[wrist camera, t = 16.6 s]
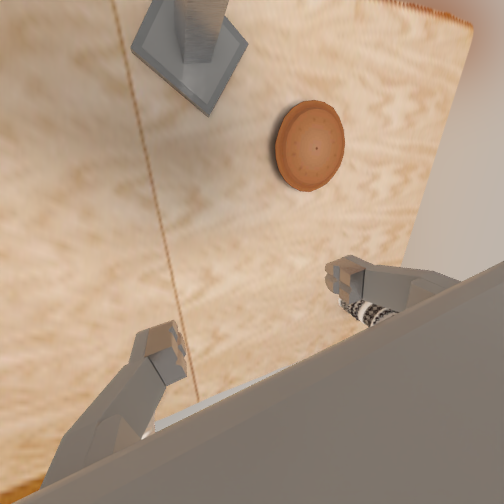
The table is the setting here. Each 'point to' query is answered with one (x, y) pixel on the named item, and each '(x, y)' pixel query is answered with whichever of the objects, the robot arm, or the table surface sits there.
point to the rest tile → (171, 63)
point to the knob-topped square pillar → (198, 28)
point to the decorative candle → (367, 311)
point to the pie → (310, 145)
